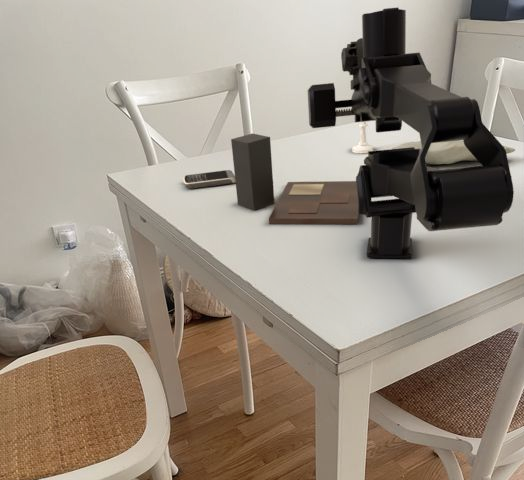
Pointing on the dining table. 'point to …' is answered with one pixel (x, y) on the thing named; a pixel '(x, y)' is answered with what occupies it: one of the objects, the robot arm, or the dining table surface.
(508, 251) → the dining table surface
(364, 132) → the chess piece
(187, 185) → the cell phone
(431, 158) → the stone tool replica
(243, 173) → the dark grey rectangular block
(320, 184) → the game board
